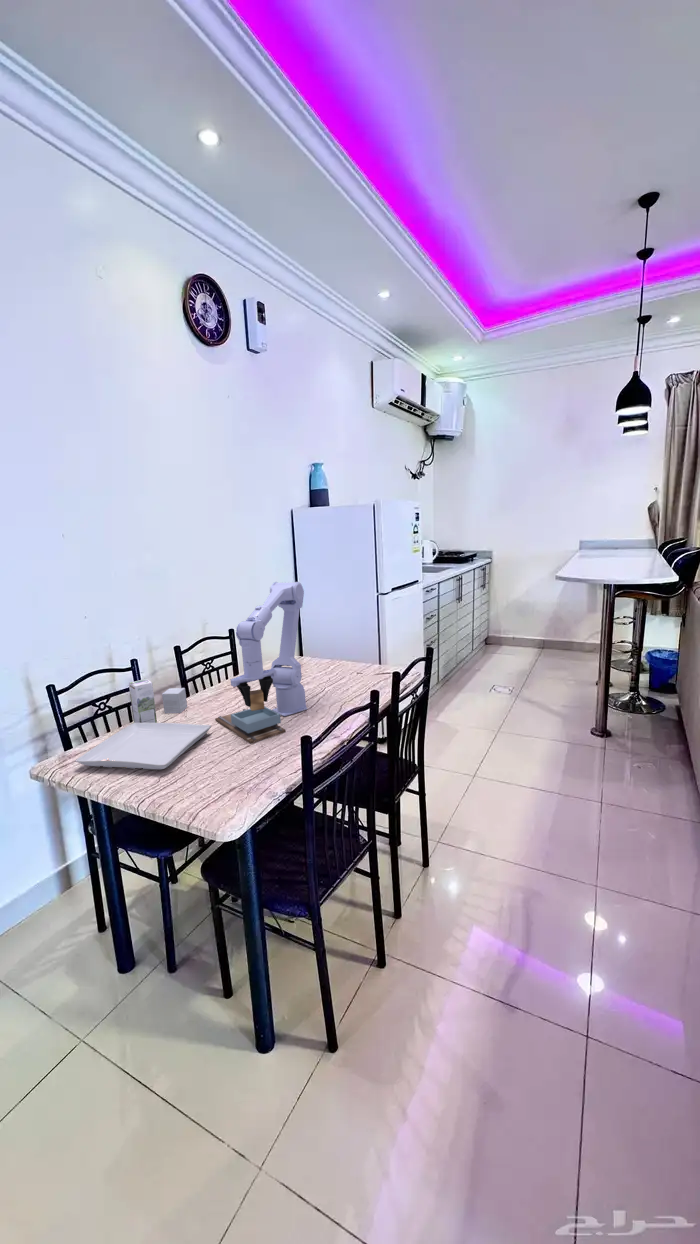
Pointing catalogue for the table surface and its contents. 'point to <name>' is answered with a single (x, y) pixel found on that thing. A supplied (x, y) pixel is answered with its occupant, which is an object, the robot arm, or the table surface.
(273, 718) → the blue storage tray
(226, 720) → the rail board
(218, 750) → the table surface
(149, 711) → the syrup box
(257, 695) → the part block
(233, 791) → the table surface
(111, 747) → the square plate
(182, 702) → the product box
